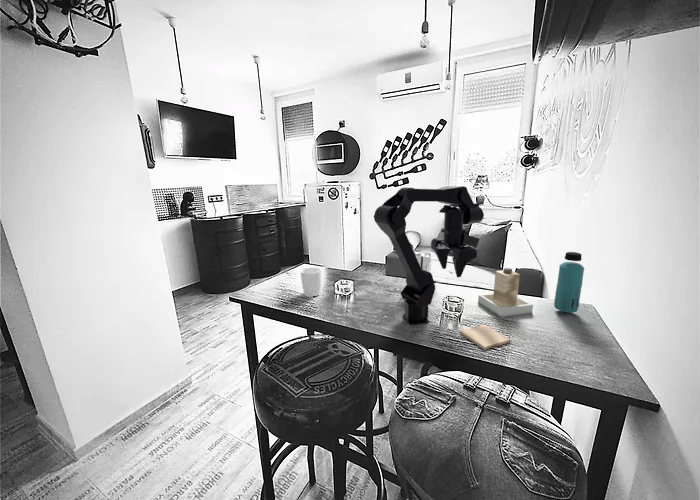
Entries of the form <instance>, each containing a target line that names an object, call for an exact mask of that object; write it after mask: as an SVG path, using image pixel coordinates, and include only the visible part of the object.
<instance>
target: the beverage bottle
mask: <svg viewBox="0 0 700 500" xmlns="http://www.w3.org/2000/svg"><path fill="white" fill-rule="evenodd" d="M564 260H566V261H564V262H562V263H561V264H560V265H559V268H558V275H557V283H556V286H555V287H556V288H555V295H554V298H553V299H554V302H553V307H554V308H555V309H556V310H558V311H561V312H565V313H573V314H574V313H577V312H578V311H579V310H578V309H579V308H580V300H581V299H580V298H581V293H582V286H583V280H584V272H585V267H584V266H583V265H582V264H581V263H579V262H581V261H582V253H580V252H577V251H567V252H565V255H564Z"/></svg>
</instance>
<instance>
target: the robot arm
mask: <svg viewBox="0 0 700 500" xmlns="http://www.w3.org/2000/svg"><path fill="white" fill-rule="evenodd" d="M415 202H434V203H435V202H436V203H441V204H444V206H443V207H442V208H441V209H440V210H439V211H438V212H439V214H440V213H441V214H444V220H443V221H444V223H443V224H444V225H443V228H441V230H440V231H441V233H443V237H436V238H432V239H431V241H430V246H431V247H432V250H433V251H434V253H435V255H436V257H437V259H438V262H439V263H440V266H441V268H442V270H445V269H447V265H448V257H449V253H450V252H451V251H452V257H451V259H452V264H453V267H454V273H455V276H456V278H461V277H462V275H463V273H464V270H465V268H466V266H467V264H468V263H469V262H471V261H473V260H475V259H477V258H478V255H479V254H478V250H477V249H476V248H478V245H479V242H480V240H481V239H480V238H479V237H475V236H472V235H470V232H468V231H467V230H466V229H464V225H472V224H479V223H480V222H482V221H483V219H484V215H485V213H484V211H483V209H482V208H481V206H480V203H479V202H474V200H473V199H472V196H471V195H470V193H469V190H468V188H467V187H466V186H464V185H447V186H443V187H440V188H436V189H435V188H414V187H402V188H400V189H398V191H397V192H396V193H395V194H394V195H393V196H391V197H389V198H388V199H387V200H385V201H384V202H383V203H382V204H381V205H380V206H378V208H376V209H375V211H374V214H373V220H374V223H376V225H377V226H378V227H379V229H380V230H381V231H382V232H383V233H384V234H385V235H386V236H387V237H388V239H389V241H390V242H391V244H392V246H393V249H394V250H395V252H396V254H397V257H398V259H399V261H400V263H401V266H402V267H403V269H404V271H405V273H406V277H405V283H406V285H404V287H403V289H402V290H401V292H400V296H401V299H403V300H404V313H403V314H402V317H403V318H404V319H405V320H406V322H407V323H408V324H409V325H418V324H425V323H430V320H429V319H428V318H429V306H430V305H431V304H432V301H433V298H434V295H435V291H436V283H437V282H436V281H435V280H434V276H433V274H432V272H431V271H430V272H428V271H425V270H422V269H421V267H420V264H419V262H418V260H417V258H416V255H415V253H416V252H415V251H414V249H413V247H412V245H411V244H412V243H411V242H410V240H409V237H408V235H407V233H406V228H407V222H406V217H407V216H408V215H409V214H410V213H411V210H412V206H413V204H414V203H415Z"/></svg>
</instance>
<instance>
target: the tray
mask: <svg viewBox="0 0 700 500" xmlns="http://www.w3.org/2000/svg"><path fill="white" fill-rule="evenodd" d="M493 294H494V292H492V293H491V292H490V293H483V294H478V299H477V300H478V301H477V303H478V304H479V305H480V306H482V307H484V308H485V309H487V310H488V311H490V312H491V313H493V314H494V315H495V316H498V317H499V318H507V317H513V316H521V315H523V316H524V315H529V314H533V308H534V304H532V303H531V302H529V301H527V300H525V299H523V298H521V297H519V296H517V303H516V306H509V307H500V306H498V305H497V304H495V303H494V302H493Z"/></svg>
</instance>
